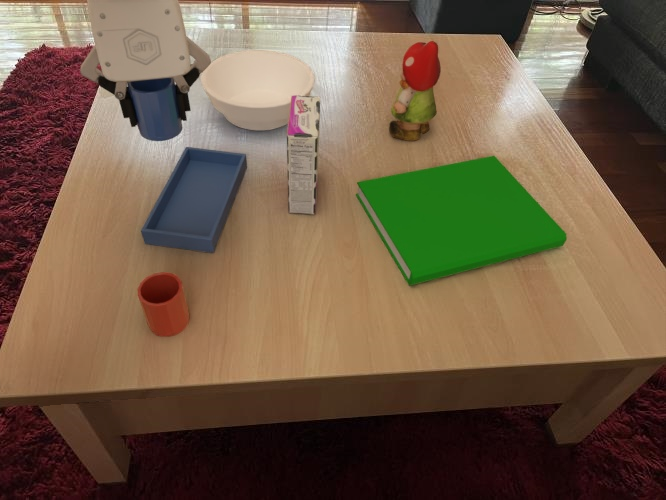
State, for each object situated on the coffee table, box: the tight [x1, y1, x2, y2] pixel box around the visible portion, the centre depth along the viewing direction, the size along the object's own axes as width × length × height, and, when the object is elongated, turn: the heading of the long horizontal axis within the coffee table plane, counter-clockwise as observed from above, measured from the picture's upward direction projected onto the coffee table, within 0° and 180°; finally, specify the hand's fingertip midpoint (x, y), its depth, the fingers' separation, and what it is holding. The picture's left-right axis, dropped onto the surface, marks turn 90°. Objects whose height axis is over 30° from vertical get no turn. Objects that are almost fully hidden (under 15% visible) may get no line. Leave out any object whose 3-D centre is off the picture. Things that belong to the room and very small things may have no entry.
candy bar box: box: [286, 95, 321, 216], centre depth 87 cm, size 11×5×16 cm, turn 179°
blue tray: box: [140, 146, 248, 254], centre depth 89 cm, size 22×11×3 cm, turn 173°
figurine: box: [388, 40, 442, 141], centre depth 101 cm, size 11×9×20 cm
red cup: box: [136, 271, 190, 338], centre depth 71 cm, size 6×6×7 cm
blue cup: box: [127, 77, 184, 142], centre depth 68 cm, size 6×6×7 cm
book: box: [355, 155, 568, 286], centre depth 90 cm, size 22×28×3 cm
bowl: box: [200, 49, 316, 131], centre depth 107 cm, size 22×22×8 cm
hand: (158, 116), depth 69 cm, fingers closed on blue cup, 5 cm apart
